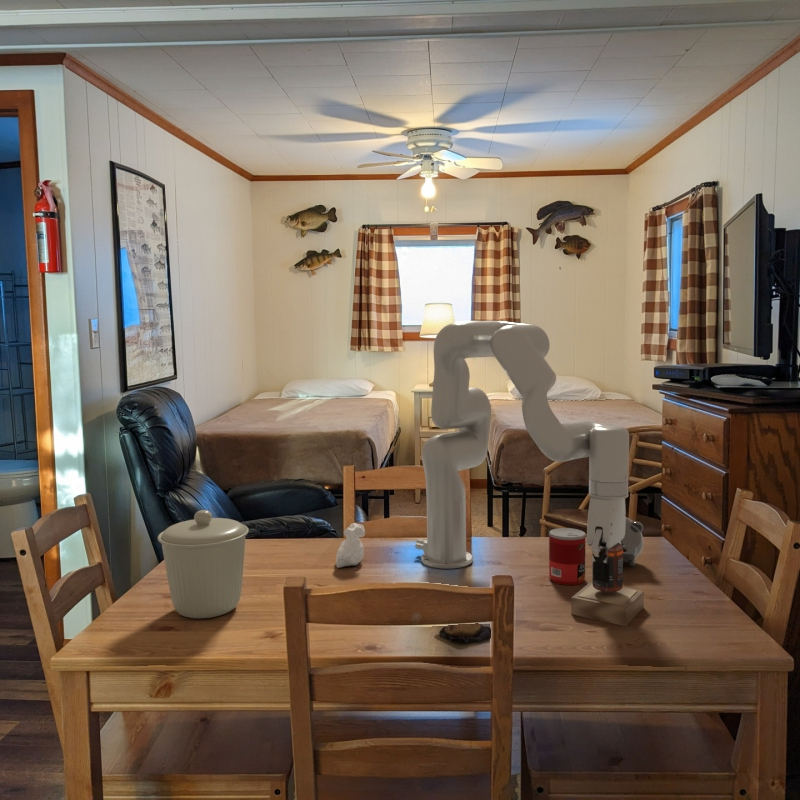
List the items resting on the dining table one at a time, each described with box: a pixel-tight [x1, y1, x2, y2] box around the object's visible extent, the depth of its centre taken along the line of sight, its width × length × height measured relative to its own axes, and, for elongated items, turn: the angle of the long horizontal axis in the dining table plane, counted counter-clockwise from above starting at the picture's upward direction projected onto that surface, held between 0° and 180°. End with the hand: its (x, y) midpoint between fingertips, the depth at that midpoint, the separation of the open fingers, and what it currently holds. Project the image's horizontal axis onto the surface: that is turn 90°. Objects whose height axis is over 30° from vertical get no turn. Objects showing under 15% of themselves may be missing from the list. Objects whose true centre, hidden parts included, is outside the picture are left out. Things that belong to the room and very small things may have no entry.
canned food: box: [548, 527, 587, 586], centre depth 168 cm, size 8×8×11 cm
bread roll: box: [434, 622, 492, 651], centre depth 140 cm, size 11×8×4 cm
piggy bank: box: [621, 517, 644, 567], centre depth 179 cm, size 11×15×12 cm
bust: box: [335, 522, 366, 569], centre depth 182 cm, size 12×8×11 cm
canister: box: [157, 509, 250, 619], centre depth 154 cm, size 18×18×21 cm
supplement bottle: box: [591, 543, 624, 592], centre depth 149 cm, size 6×6×11 cm
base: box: [570, 580, 645, 627], centre depth 150 cm, size 11×11×4 cm
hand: (607, 575), depth 150 cm, fingers closed on supplement bottle, 5 cm apart
